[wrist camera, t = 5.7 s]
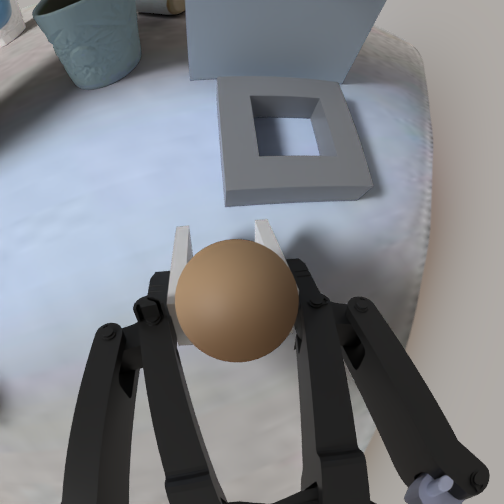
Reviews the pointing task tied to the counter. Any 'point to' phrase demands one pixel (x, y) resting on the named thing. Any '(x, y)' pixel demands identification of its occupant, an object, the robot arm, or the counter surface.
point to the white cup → (12, 25)
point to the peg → (236, 300)
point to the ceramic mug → (160, 6)
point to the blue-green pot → (92, 38)
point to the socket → (288, 167)
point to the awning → (277, 37)
